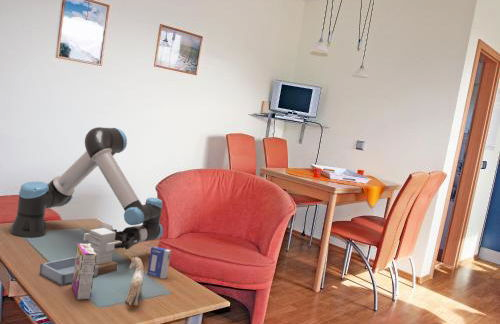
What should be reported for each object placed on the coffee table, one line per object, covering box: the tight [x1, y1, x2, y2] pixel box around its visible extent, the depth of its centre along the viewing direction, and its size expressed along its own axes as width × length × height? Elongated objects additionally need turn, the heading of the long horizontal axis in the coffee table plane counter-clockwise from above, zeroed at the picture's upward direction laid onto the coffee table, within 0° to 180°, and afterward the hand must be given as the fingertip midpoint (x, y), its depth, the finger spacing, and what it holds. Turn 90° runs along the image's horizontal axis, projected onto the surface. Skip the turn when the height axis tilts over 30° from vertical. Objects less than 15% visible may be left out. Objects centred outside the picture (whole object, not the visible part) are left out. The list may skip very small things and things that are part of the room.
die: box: [95, 222, 114, 230], centre depth 220 cm, size 8×9×10 cm
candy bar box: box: [71, 242, 97, 301], centre depth 159 cm, size 11×5×16 cm, turn 30°
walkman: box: [146, 245, 172, 280], centre depth 187 cm, size 8×3×12 cm, turn 78°
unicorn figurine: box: [124, 252, 145, 307], centre depth 162 cm, size 7×20×13 cm, turn 24°
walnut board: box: [95, 260, 119, 277], centre depth 184 cm, size 12×10×3 cm
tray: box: [39, 256, 99, 286], centre depth 172 cm, size 13×16×4 cm
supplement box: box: [87, 228, 116, 265], centre depth 184 cm, size 7×7×13 cm
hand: (95, 242), depth 181 cm, fingers open, 13 cm apart
